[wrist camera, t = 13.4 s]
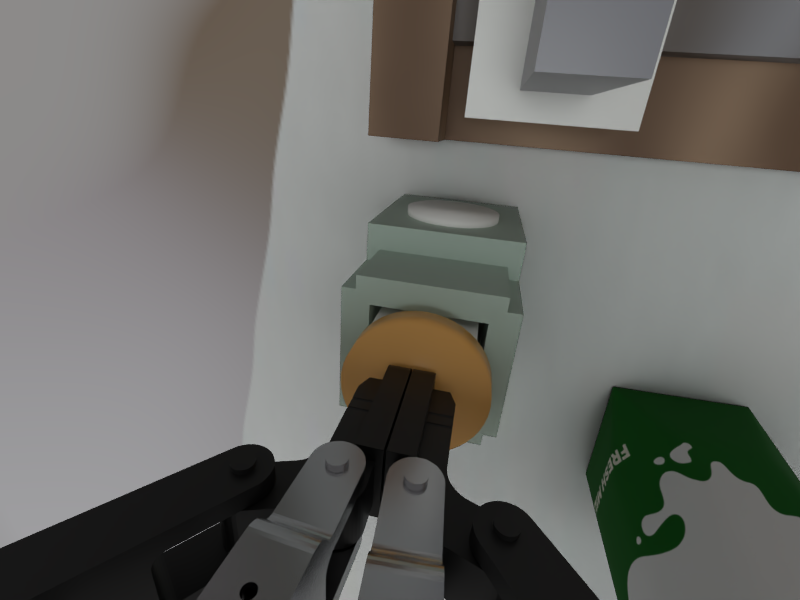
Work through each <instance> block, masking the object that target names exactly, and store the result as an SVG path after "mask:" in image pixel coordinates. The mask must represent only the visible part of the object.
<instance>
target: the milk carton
mask: <svg viewBox="0 0 800 600" xmlns="http://www.w3.org/2000/svg"><path fill="white" fill-rule="evenodd" d="M586 476H587V480H588V484H589V488H590V492H591V497H592V501H593V505H594V509H595V513H596V517H597V521H598V525H599V529H600V533H601V537H602V541H603V544H604V548H605V552H606V556H607V560H608V564H609V568H610V572H611V576H612V580H613V584H614V588H615V592H616V596H617V599H618V600H800V481H799V479H798V478H797V477H796V475H795V474H794V472H793V471H792V469H791V468H790V466H789V465H788V464H787V462H786V461H785V459H784V458H783V456H782V455H781V453H780V452H779V451H778V449H777V448H776V446H775V445H774V443H773V442H772V441H771V439H770V438H769V436H768V435H767V433H766V432H765V431H764V429H763V428H762V426H761V425H760V423H759V422H758V421H757V419H756V418H755V416H754V415H753V413H752V412H751V410H750V409H749V408H748V407H742V406H736V405H729V404H723V403H716V402H709V401H703V400H696V399H690V398H683V397H677V396H670V395H663V394H657V393H650V392H644V391H637V390H631V389H624V388H617V387H613V388H612V392H611V395H610V398H609V401H608V404H607V408H606V411H605V414H604V417H603V420H602V424H601V427H600V430H599V433H598V436H597V440H596V443H595V446H594V449H593V452H592V456H591V459H590V462H589V465H588V469H587V472H586Z"/></svg>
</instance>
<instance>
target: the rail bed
mask: <svg viewBox="0 0 800 600" xmlns="http://www.w3.org/2000/svg"><path fill="white" fill-rule="evenodd" d="M478 8H479V0H374V4H373V29H372V55H371V80H370V105H369V131H368V135H369V136H380V137H391V138H402V139H413V140H423V141H434V142H439V141H442V140H444V139H445V140H456V141H467V142H478V143H489V144H500V145H511V146H522V147H533V148H544V149H555V150H566V151H577V152H588V153H599V154H610V155H621V156H632V157H643V158H654V159H665V160H676V161H687V162H698V163H709V164H720V165H731V166H742V167H753V168H764V169H775V170H786V171H797V172H800V0H677V2H676V5H675V9H674V12H673V16H672V19H671V23H670V26H669V29H668V33H667V36H666V40H665V43H664V46H663V50H662V53H661V57H660V60H659V63H658V67H657V70H656V74H655V77H654V81H653V84H652V87H651V91H650V94H649V98H648V101H647V104H646V108H645V111H644V115H643V118H642V121H641V125H640V128H639V131H624V130H611V129H599V128H587V127H575V126H562V125H550V124H538V123H525V122H513V121H501V120H489V119H476V118H466V117H465V109H466V101H467V94H468V86H469V78H470V70H471V62H472V54H473V47H474V39H475V31H476V23H477V15H478Z"/></svg>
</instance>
